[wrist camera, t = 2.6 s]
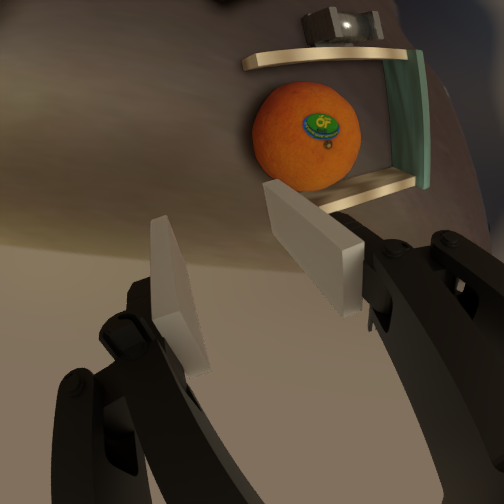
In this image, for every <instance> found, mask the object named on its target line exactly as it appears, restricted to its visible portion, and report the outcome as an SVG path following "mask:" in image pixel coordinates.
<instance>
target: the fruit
mask: <svg viewBox="0 0 504 504" xmlns="http://www.w3.org/2000/svg"><path fill="white" fill-rule="evenodd" d="M252 138H253V145H254V151H255V156H256V159H257V160H258V162H259V164H260V165H261V167H262V168H263V170H264V171H265V172H266V173H267V174H268V175H269V176H270V177H272V178H273V179H279V180H280V181H282V182H283V183H285V184H286V185H288V186H289V187H291V188H292V189H293V190H295V191H306V192H308V191H318V190H321V189H324V188H326V187H328V186H330V185H332V184H334V183H336V182H337V181H339V180H340V179H342V178H343V177H344V176H345V175H346V174H347V173H348V172H349V171H350V169H351V167H352V166H353V164H354V162H355V160H356V158H357V155H358V152H359V148H360V144H361V134H360V128H359V123H358V119H357V116H356V114H355V112H354V110H353V108H352V107H351V105H350V104H349V103H348V102H347V101H346V100H345V99H344V98H343V97H341V96H340V95H339V94H338V93H337V92H336V91H334V90H333V89H331V88H330V87H327V86H325V85H323V84H319V83H313V82H293V83H288V84H285V85H283V86H280V87H278V88H277V89H275V90H274V91H273V92H272V93H271V94H270V95H269V96H268V97H267V99H266V100H265V101H264V103H263V105H262V106H261V108H260V110H259V112H258V114H257V116H256V119H255V121H254V125H253V129H252Z"/></svg>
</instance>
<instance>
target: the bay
mask: <svg viewBox="0 0 504 504" xmlns="http://www.w3.org/2000/svg"><path fill="white" fill-rule="evenodd" d="M337 60H382V61H383V67H384V74H385V81H386V89H387V97H388V106H389V117H390V129H391V145H392V167H390V168H386V169H382V170H378V171H375V172H371V173H367V174H364V175H360V176H357V177H353V178H349V179H346V180H342V181H339V182H336V183H334V184H332V185H330V186H328V187H326V188H324V189H321V190H318V191H308V192H306V191H305V192H301V193H299V194H301V195H302V196H304V197H305V198H306V199H308V200H309V201H311V202H312V203H313V204H315V205H316V206H318V207H319V208H320V209H322V210H323V211H324V212H326V213H327V214H329V213H332V212H335V211H339V210H342V209H345V208H348V207H351V206H354V205H357V204H360V203H363V202H366V201H369V200H372V199H375V198H378V197H381V196H384V195H387V194H390V193H393V192H396V191H399V190H403V189H406V188H409V187H412V186H415V185H416V186H418V187H420V188H422V189H426V188H429V185H430V119H429V103H428V91H427V81H426V73H425V65H424V59H423V53H422V51H421V50H401V49H390V48H374V47H318V48H301V49H289V50H279V51H270V52H263V53H256V54H253V55H251V56H249V57H247V58H245V59H243V60H241V61H242V66H243V70H244V71H248V70H253V69H259V68H266V67H272V66H280V65H288V64H297V63H307V62H319V61H337Z"/></svg>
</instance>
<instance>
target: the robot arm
mask: <svg viewBox="0 0 504 504" xmlns="http://www.w3.org/2000/svg"><path fill="white" fill-rule="evenodd" d="M263 188H264V193H265V198H266V203H267V208H268V213H269V218H270V223H271V228H272V233H273V235H274V236H275V237H276V238H277V240H278V241H279V242H280V243H281V244H282V246H283V247H284V248H285V249H286V250H287V251H288V253H289V254H290V255H291V256H292V257H293V259H294V260H295V261H296V262H297V263H298V265H299V266H300V267H301V268H302V269H303V271H304V272H305V273H306V274H307V275H308V277H309V278H310V279H311V280H312V281H313V283H314V284H315V285H316V286H317V288H319V290H320V291H321V292H322V293H323V295H324V296H325V297H326V298H327V300H328V301H329V302H330V303H331V305H333V307H334V308H335V310H336V311H337V312H338V313H339V314H340V316H341V317H342V318H343V319H344V318H346V317H348V316H350V315H352V314H355V313H357V312H359V311H361V310H362V300H363V298H364V299H365V300H366V301H367V302H368V303H369V304H370V308H369V319H368V331H369V332H370V331H372V324H373V323H374V325H375V327H376V329H377V331H378V333H379V335H380V337H381V339H382V341H383V343H384V345H385V347H386V349H387V351H388V354H389V356H390V358H391V360H392V362H393V364H394V366H395V368H396V371H397V373H398V375H399V377H400V380H401V382H402V384H403V386H404V389H405V391H406V393H407V395H408V398H409V400H410V403H411V405H412V407H413V410H414V412H415V414H416V417H417V419H418V422H419V424H420V427H421V429H422V432H423V434H424V437H425V440H426V442H427V445H428V447H429V450H430V453H431V456H432V459H433V461H434V464H435V467H436V470H437V473H438V476H439V479H440V482H441V485H442V488H443V492H444V498H443V501H442V504H504V263H502V262H501V261H500V260H498V259H497V258H495V257H494V256H492V255H491V254H490V253H488V252H487V251H485V250H484V249H482V248H481V247H479V246H478V245H476V244H475V243H473V242H472V241H470V240H468V239H467V238H465V237H464V236H462V235H460V234H458V233H456V232H454V231H450V230H440V231H437V232H435V233H434V234H433V235H432V238H431V245H430V246H425V247H419V248H413V247H412V246H411V245H409V244H408V243H407V242H404V241H402V240H397V239H387V240H383V239H382V238H380V237H379V236H378V235H376V234H375V233H373V232H372V231H371V230H369V229H368V228H366V227H365V226H363V225H362V224H361V223H359V222H358V221H357V222H356V220H355V219H354V218H352V217H351V216H349V215H348V214H344V213H341V212H338V211H335V212H332V213H329V214H327V213H326V212H324V211H323V210H322V209H320V208H319V207H318V206H316V205H315V204H313V203H312V202H311V201H309V200H308V199H306V198H305V197H304V196H302V195H301V194H299V193H298V192H296V191H295V190H293V189H292V188H291V187H289V186H288V185H286V184H285V183H283V182H282V181H280V180H279V179H275V180H271V181H268V182H265V183H263ZM459 279H461V280H462V281H463V282H465V283H466V284H465V287H464V290H463V292H460V291H458V290H457V286H458V282H459ZM126 307H127V308H126V311H123V312H120V313H117V314H115V315H114V316H112V317H111V318H109V319H108V320H107V322H106V323H105V324H104V325H103V326H102V329H101V330H100V332H99V341H100V342H101V343H102V344H103V346H104V347H105V348H106V350H107V351H108V352H109V353H110V355H111V356H112V357H113V358H114V359H115V361H114V362H113V363H112V364H110V365H109V366H108V367H106V368H104V369H103V370H101V371H99V372H98V373H96V374H93V373H92V372H91V371H90V370H88V369H86V368H77V369H74V370H72V371H70V372H69V373H68V374H67V375H66V376H65V377H64V378H63V380H62V381H61V383H60V385H59V389H58V394H57V401H56V409H55V417H54V428H53V440H52V457H51V496H52V497H51V498H52V504H152V499H151V495H150V489H149V483H148V477H147V470H146V463H145V457H146V459H147V461H148V464H149V466H150V469H151V471H152V474H153V476H154V478H155V480H156V483H157V484H158V487H159V489H160V491H161V493H162V495H163V498H164V500H165V502H166V503H167V504H264V502H263V501H262V500H261V498H260V497H259V496H258V494H257V493H256V491H255V490H254V489H253V487H252V486H251V485H250V483H249V482H248V481H247V479H246V477H245V476H244V475H243V473H242V472H241V470H240V469H239V467H238V466H237V464H236V463H235V461H234V460H233V458H232V457H231V455H230V454H229V452H228V451H227V449H226V447H225V446H224V444H223V443H222V441H221V440H220V438H219V437H218V435H217V433H216V431H215V430H214V428H213V427H212V425H211V423H210V421H209V420H208V418H207V416H206V415H205V413H204V411H203V409H202V408H201V406H200V404H199V402H198V401H197V399H196V397H195V395H194V393H193V391H192V390H191V388H190V387H189V386H188V384H187V383H186V379H185V373H186V374H187V376H188V377H189V379H190V378H193V377H197V376H200V375H203V374H205V373H209V372H212V369H211V366H210V362H209V359H208V355H207V351H206V348H205V344H204V340H203V336H202V333H201V328H200V324H199V320H198V316H197V312H196V308H195V304H194V299H193V295H192V291H191V287H190V282H189V277H188V273H187V268H186V264H185V261H184V259H183V256H182V254H181V251H180V249H179V246H178V243H177V241H176V238H175V236H174V233H173V230H172V228H171V225H170V222H169V220H168V217H167V215H164V216H161V217H158V218H156V219H153V220H151V232H150V277H147V278H145V279H142V280H139V281H136V282H134V283H133V284H132V285H131V287H130V289H129V291H128V293H127V306H126ZM184 371H185V373H184ZM144 454H145V455H144Z"/></svg>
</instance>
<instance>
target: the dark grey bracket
mask: <svg viewBox="0 0 504 504" xmlns="http://www.w3.org/2000/svg"><path fill="white" fill-rule="evenodd" d="M301 20H302V24H303V29H304V33H305V37H306V42H307V45H309V44H311V46H312V48H315V47H351V46H353V43H363V42H366V41H373V40H381V39H384V37H383V32H382V28H381V23H380V19H379V15H378V12H376V11H370V12H366V13H362V14H361V13H353V12H341V11H337V9H336V7H327V8H325V9H322V10H320V11H318V12H315V13H313V14H307V15H305V17H304V18H302V19H301Z"/></svg>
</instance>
